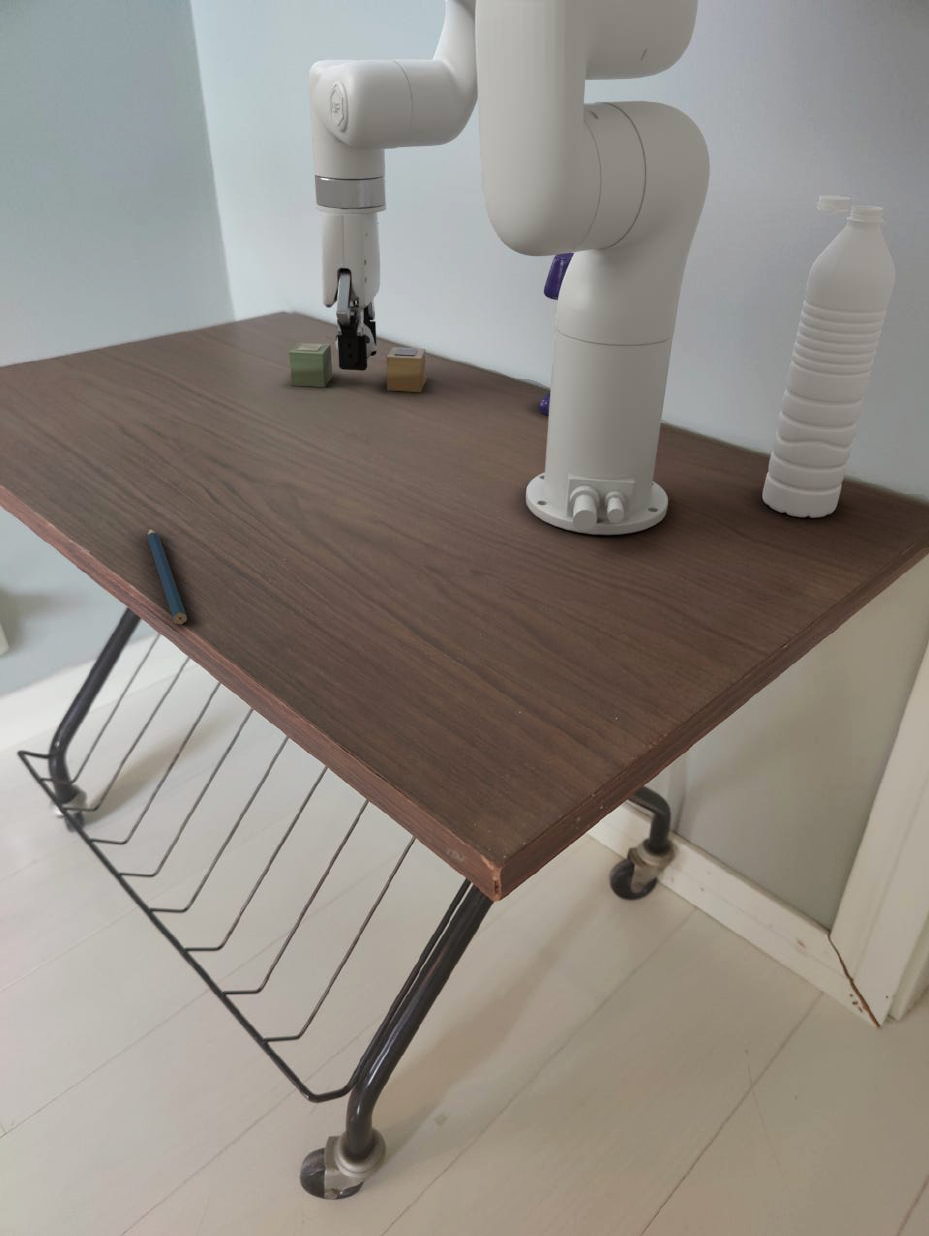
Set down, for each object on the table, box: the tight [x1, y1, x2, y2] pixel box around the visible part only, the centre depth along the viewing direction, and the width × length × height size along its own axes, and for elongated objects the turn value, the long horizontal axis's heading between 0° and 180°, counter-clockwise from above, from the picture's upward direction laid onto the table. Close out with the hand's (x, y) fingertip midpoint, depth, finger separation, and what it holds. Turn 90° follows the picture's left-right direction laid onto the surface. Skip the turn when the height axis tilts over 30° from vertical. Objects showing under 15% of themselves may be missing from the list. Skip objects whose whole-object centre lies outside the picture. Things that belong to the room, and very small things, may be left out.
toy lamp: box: [537, 252, 575, 416], centre depth 98 cm, size 5×5×17 cm
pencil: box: [147, 528, 188, 625], centre depth 70 cm, size 1×1×15 cm
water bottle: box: [762, 194, 896, 519], centre depth 77 cm, size 9×6×25 cm
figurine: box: [334, 321, 378, 360], centre depth 107 cm, size 5×5×5 cm
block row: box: [288, 342, 427, 393], centre depth 108 cm, size 4×16×4 cm, turn 84°
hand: (358, 360), depth 108 cm, fingers closed on figurine, 5 cm apart
